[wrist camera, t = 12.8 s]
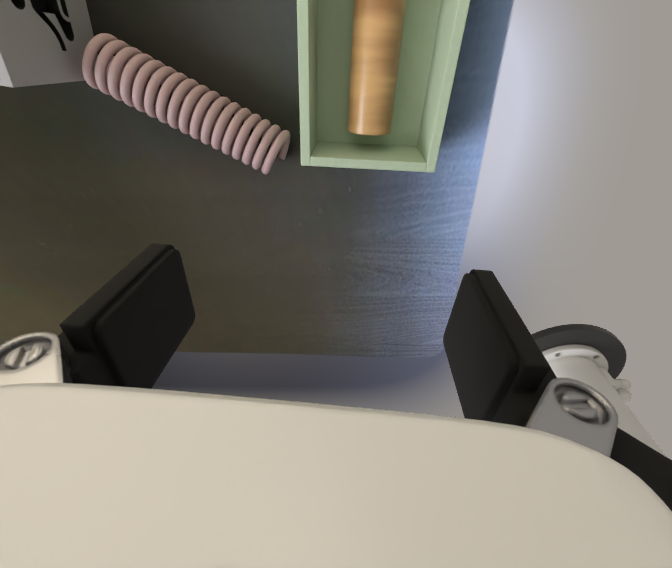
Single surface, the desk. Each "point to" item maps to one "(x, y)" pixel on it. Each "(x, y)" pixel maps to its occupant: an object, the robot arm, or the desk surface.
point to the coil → (204, 115)
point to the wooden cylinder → (374, 64)
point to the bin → (410, 96)
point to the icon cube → (43, 41)
